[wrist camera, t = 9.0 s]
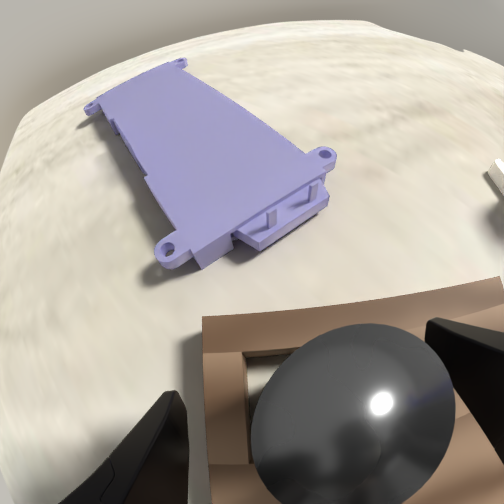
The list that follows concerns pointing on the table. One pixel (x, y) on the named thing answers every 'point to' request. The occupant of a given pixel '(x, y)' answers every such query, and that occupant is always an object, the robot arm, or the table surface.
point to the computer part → (212, 165)
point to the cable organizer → (497, 174)
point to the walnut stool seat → (307, 328)
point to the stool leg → (354, 418)
